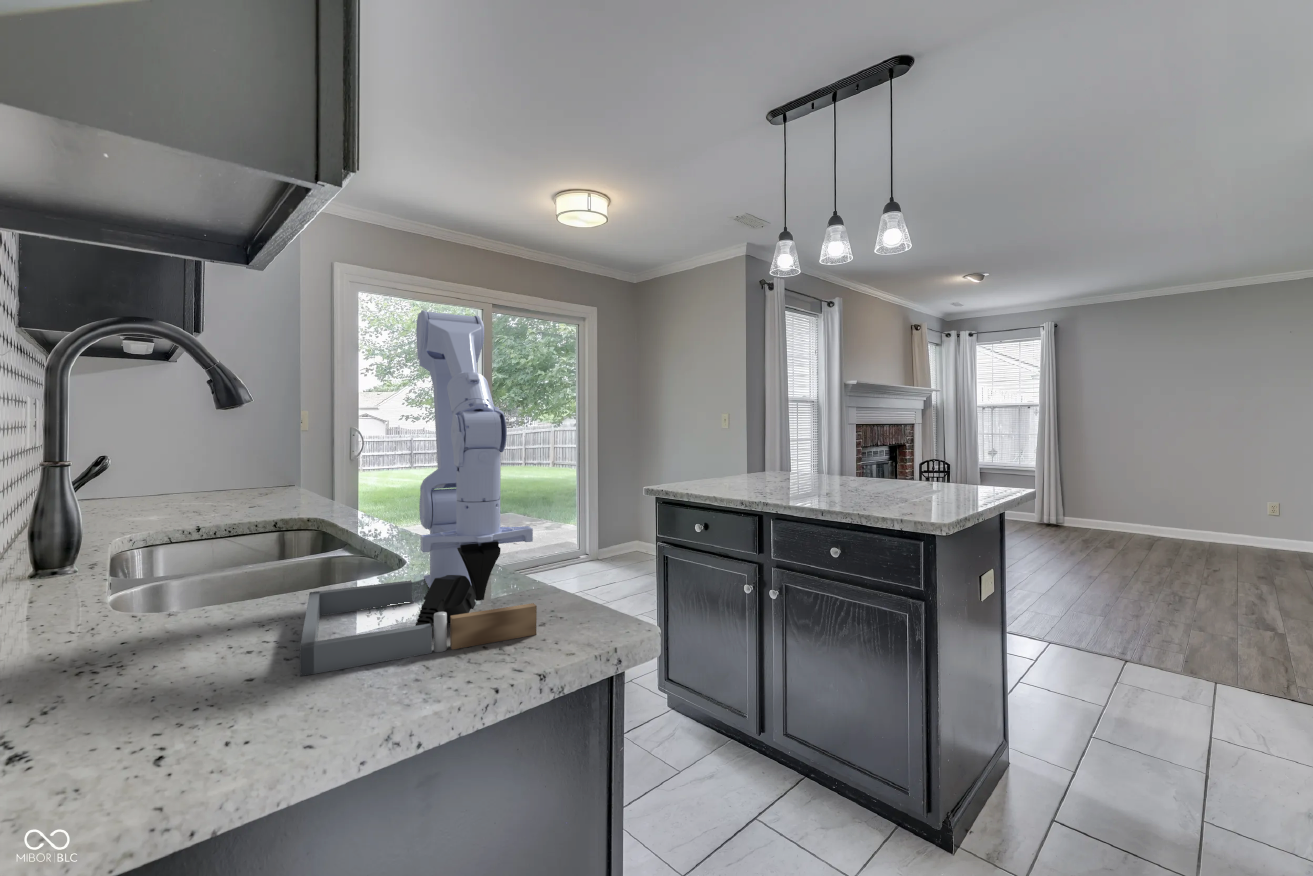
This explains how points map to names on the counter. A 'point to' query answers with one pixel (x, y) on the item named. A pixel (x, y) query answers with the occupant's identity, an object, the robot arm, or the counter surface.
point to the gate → (492, 625)
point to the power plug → (447, 598)
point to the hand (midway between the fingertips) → (478, 598)
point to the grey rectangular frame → (366, 645)
